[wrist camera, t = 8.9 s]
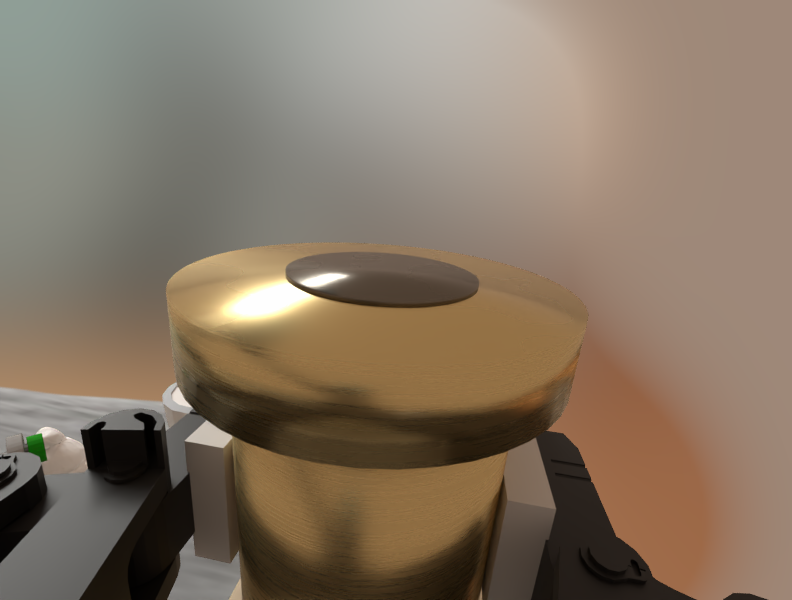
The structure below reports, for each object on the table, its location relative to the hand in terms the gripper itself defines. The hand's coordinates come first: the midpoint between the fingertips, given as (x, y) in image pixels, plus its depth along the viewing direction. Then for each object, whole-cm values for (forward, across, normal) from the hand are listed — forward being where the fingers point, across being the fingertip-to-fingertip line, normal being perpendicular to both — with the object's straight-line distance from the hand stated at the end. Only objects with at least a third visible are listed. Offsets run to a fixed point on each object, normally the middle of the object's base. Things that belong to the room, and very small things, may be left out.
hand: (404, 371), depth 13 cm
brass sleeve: (-5, 0, -8) cm, 9 cm away
